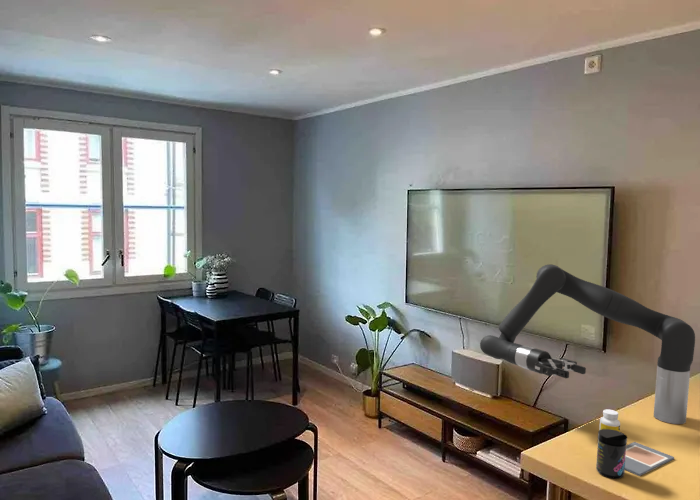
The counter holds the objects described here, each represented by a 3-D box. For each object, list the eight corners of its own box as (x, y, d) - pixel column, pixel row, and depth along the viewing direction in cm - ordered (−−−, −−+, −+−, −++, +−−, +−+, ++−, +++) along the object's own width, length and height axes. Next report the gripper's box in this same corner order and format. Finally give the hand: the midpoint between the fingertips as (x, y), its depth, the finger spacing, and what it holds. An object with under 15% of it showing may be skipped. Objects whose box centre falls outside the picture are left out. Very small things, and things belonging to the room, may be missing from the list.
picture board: (634, 443, 156) (634, 441, 156) (674, 459, 147) (674, 456, 147) (599, 458, 146) (599, 456, 146) (639, 476, 137) (639, 473, 137)
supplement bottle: (621, 449, 152) (623, 416, 152) (600, 447, 154) (603, 414, 153) (615, 441, 158) (617, 409, 157) (596, 439, 159) (598, 407, 158)
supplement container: (610, 481, 134) (613, 441, 133) (589, 468, 141) (592, 430, 140) (630, 477, 137) (633, 438, 136) (609, 465, 143) (612, 427, 142)
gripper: (519, 350, 173) (563, 364, 159) (546, 345, 181) (591, 358, 167) (517, 373, 173) (561, 388, 160) (545, 367, 181) (589, 381, 168)
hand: (576, 373), depth 163 cm, fingers open, 8 cm apart
